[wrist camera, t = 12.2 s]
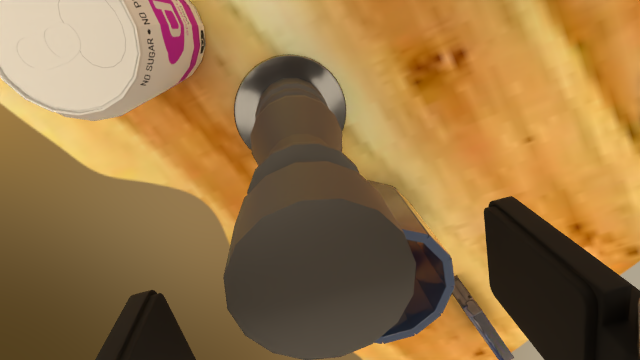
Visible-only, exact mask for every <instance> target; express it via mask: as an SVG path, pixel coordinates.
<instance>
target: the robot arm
mask: <svg viewBox="0 0 640 360" xmlns="http://www.w3.org/2000/svg"><path fill="white" fill-rule="evenodd" d="M484 220H485V232H486V244H487V256H488V268H489V281H490V287H491V290H492V292H493V294H494V296H495V297H496V299H497V300H498V301H499V303H500V304H501V305H502V306H503V308H504V309H505V310H506V311H507V313H508V314H509V315H510V316H511V318H512V319H513V320H514V322H515V323H516V324H517V325H518V327H519V328H520V329H521V330H522V332H523V333H524V334H525V336H526V337H527V338H528V339H529V341H530V342H531V343H532V344H533V346H534V347H535V348H536V349H537V351H538V352H539V353H540V355H541V356H542V357H543V358H544V360H640V291H639V290H638V289H637V288H636V287H634V286H633V285H632V284H630V283H629V282H628V281H626V280H625V279H623V278H622V277H621V276H619V275H618V274H617V273H615V272H614V271H613V270H611V269H610V268H609V267H607V266H606V265H605V264H603V263H602V262H601V261H599V260H598V259H596V258H595V257H594V256H592V255H591V254H590V253H588V252H587V251H586V250H584V249H583V248H582V247H580V246H579V245H578V244H576V243H575V242H574V241H572V240H571V239H569V238H568V237H567V236H565V235H564V234H563V233H561V232H560V231H559V230H557V229H556V228H554V227H553V226H552V225H550V224H549V223H548V222H546V221H545V220H544V219H542V218H541V217H540V216H538V215H537V214H536V213H534V212H533V211H532V210H530V209H529V208H527V207H526V206H525V205H523V204H522V203H521V202H519V201H518V200H517V199H515V198H514V197H512V196H511V197H506V198H502V199H498V200H494V201H491V202H490V204H489V207H488V208H485V210H484ZM96 360H196V359H195V357H194V355H193V353H192V351H191V349H190V347H189V345H188V343H187V341H186V339H185V337H184V335H183V333H182V331H181V329H180V327H179V325H178V323H177V321H176V319H175V317H174V315H173V313H172V311H171V309H170V307H169V305H168V303H167V301H166V299H165V297H164V296H163V295H162V294H161V293H159V294H157V293H156V292H155V291H154V290H150V291H146V292H142V293H139V294H135V295H132V296H131V297H130V298H129V299H128V302H127V303H126V305H125V307H124V309H123V310H122V312H121V314H120V316H119V318H118V319H117V321H116V323H115V325H114V327H113V329H112V330H111V332H110V334H109V336H108V338H107V339H106V341H105V343H104V345H103V347H102V349H101V350H100V352H99V354H98V356H97V358H96Z"/></svg>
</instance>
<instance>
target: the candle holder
mask: <svg viewBox="0 0 640 360" xmlns="http://www.w3.org/2000/svg"><path fill="white" fill-rule="evenodd" d="M255 119H256V121H255V123H254V126H253V129H252V132H251V148H252V155H253V156H254V158H255V160H256V162H257V164H258V167H257V168H256V169H255V172H254V175H253V178H252V180H251V183H250V186H249V189H248V192H247V194H248V195H247V196H246V197H245V198H244V201H243V203H242V206H241V209H240V212H239V215H238V217H237V220H236V223H235V226H234V231H233V236H232V240H231V245H230V250H229V254H228V259H227V264H226V268H225V273H224V284H225V292H226V301H227V309H228V311H229V312H230V314H231V315H232V317H233V318H234V319H235V321H236V322H237V324H238V325H239V327H240V328H241V329H242V331H243V333H244V334H245V335H246V336H247V337H249V338H250V339H252V340H253V341H255V342H256V343H258V344H260V345H261V346H263V347H264V348H266V349H267V350H269V351H271V352H272V353H276V354H281V355H285V356H289V357H294V358H299V359H303V360H313V359H324V358H335V357H341V356H344V355H346V354H349V353H351V352H354V351H356V350H359V349H361V348H364V347H366V346H368V345H371V344H373V343H374V342H375V341H376V340H377V339H379V338H380V337H381V336H382V335H383V334H385V333H386V332H387V331H388V330H389V329H390V328H392V327H393V326H394V325H395V324H396V323H398V321H399V319H400V317H401V316H402V314H403V312H404V310H405V308H406V307H407V305H408V303H409V301H410V300H411V298H412V296H413V293H414V282H415V271H416V262H415V259H414V257H413V254H412V252H411V249H410V247H409V244H408V241H407V239H406V236H405V234H404V232H403V231H402V229H401V227H400V226H399V224H398V223H397V221H396V219H395V218H394V216H393V215H392V213H391V211H390V210H389V208H388V206H387V205H386V203H385V202H384V200H383V198H382V197H381V195H380V194H379V192H378V191H377V190H376V189H375V188H374V187H373V186H372V185H371V184H370V183H369V182H368V181H367V180H366V179H364V178H363V177H362V176H361V175H360V174H359V171H358V169H357V167H356V165H355V164H354V163H353V162H352V161H351V160H350V159H348V158H347V157H346V156H345V155H344V154H343V153H342V131H341V128H340V126H339V123H338V121H337V119H336V116H335V115H334V113H333V112H331V111H330V110H329V108H328V106H327V104H326V101H325V99H324V97H323V96H322V94H321V93H320V92H319V91H318V90H317V89H316V88H315V87H314V86H313V85H312V84H311V83H309V82H306V81H304V80H301V79H299V78H283V79H281V80H279V81H277V82H274V83H272V84H271V85H270V86H269V87H268V88H267V89H266V90H265V91H264V92H263V93H262V95H261V97H260V100H259V103H258V106H257V110H256V114H255Z"/></svg>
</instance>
